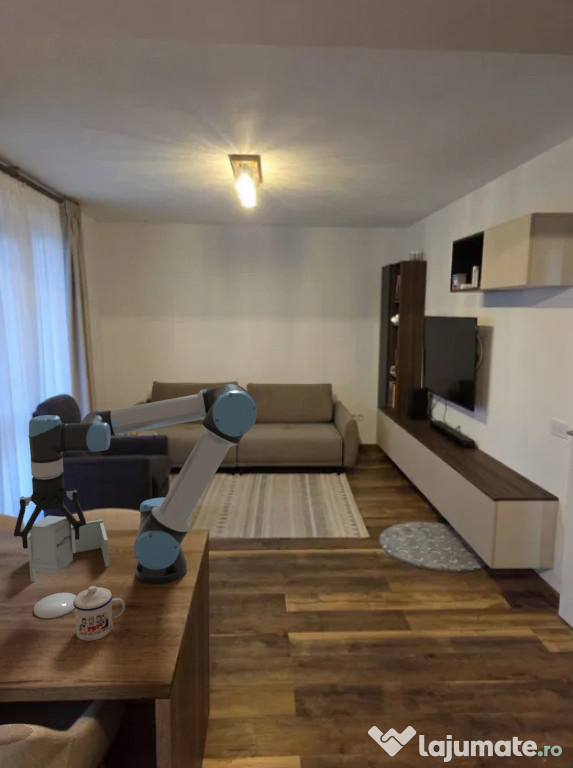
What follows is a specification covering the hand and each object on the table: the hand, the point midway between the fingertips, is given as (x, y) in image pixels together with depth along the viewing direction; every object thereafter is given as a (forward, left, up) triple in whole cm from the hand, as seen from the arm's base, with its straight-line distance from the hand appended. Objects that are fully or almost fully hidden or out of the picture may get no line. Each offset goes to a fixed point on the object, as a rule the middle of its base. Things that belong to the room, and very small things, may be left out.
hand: (52, 554), depth 134 cm
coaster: (0, 0, -15) cm, 15 cm away
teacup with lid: (-17, +7, -15) cm, 24 cm away
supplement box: (0, 0, -3) cm, 3 cm away
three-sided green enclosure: (+10, -22, -15) cm, 28 cm away
